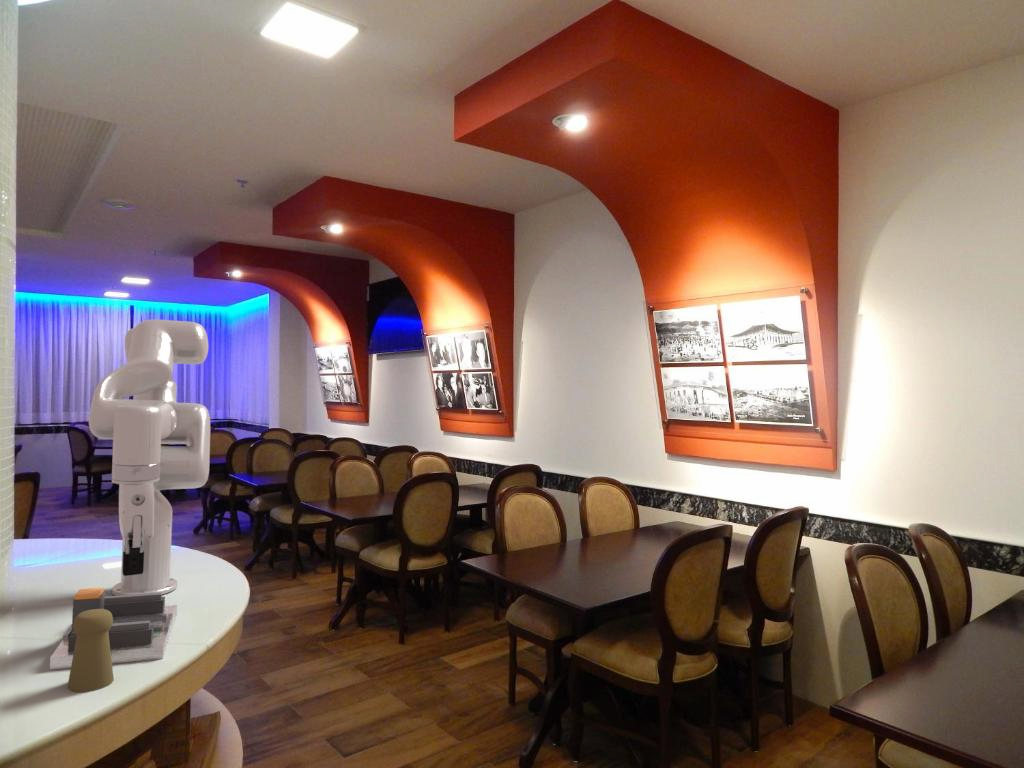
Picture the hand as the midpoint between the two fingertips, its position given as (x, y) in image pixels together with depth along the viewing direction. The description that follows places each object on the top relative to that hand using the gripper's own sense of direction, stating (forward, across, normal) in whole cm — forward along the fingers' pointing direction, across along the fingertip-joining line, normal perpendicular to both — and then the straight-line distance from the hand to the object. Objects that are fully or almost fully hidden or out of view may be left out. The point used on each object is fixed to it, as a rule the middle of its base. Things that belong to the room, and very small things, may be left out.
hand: (132, 573), depth 121 cm
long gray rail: (+9, -1, +2) cm, 10 cm away
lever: (+9, 0, +7) cm, 11 cm away
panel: (+11, -1, +2) cm, 12 cm away
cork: (+11, -18, +7) cm, 22 cm away
